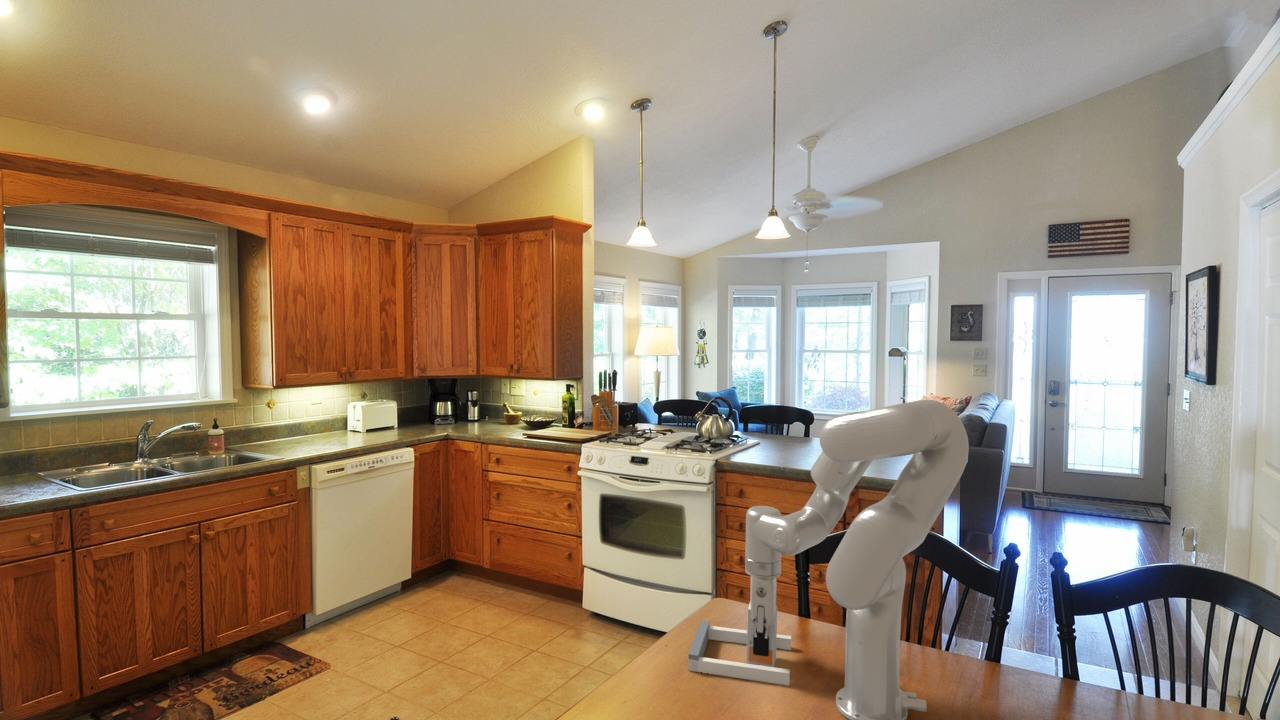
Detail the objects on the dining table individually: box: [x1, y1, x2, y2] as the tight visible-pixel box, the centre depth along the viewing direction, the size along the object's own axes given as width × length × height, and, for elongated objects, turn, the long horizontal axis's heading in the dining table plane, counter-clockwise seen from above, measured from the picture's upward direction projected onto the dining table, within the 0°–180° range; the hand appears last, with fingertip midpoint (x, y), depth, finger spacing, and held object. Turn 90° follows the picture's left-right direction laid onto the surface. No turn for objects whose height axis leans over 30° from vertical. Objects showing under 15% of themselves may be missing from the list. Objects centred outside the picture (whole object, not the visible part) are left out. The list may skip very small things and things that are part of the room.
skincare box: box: [745, 601, 778, 667], centre depth 133 cm, size 6×4×12 cm
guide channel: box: [687, 620, 792, 686], centre depth 135 cm, size 20×16×4 cm
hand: (761, 648), depth 133 cm, fingers closed on skincare box, 4 cm apart
